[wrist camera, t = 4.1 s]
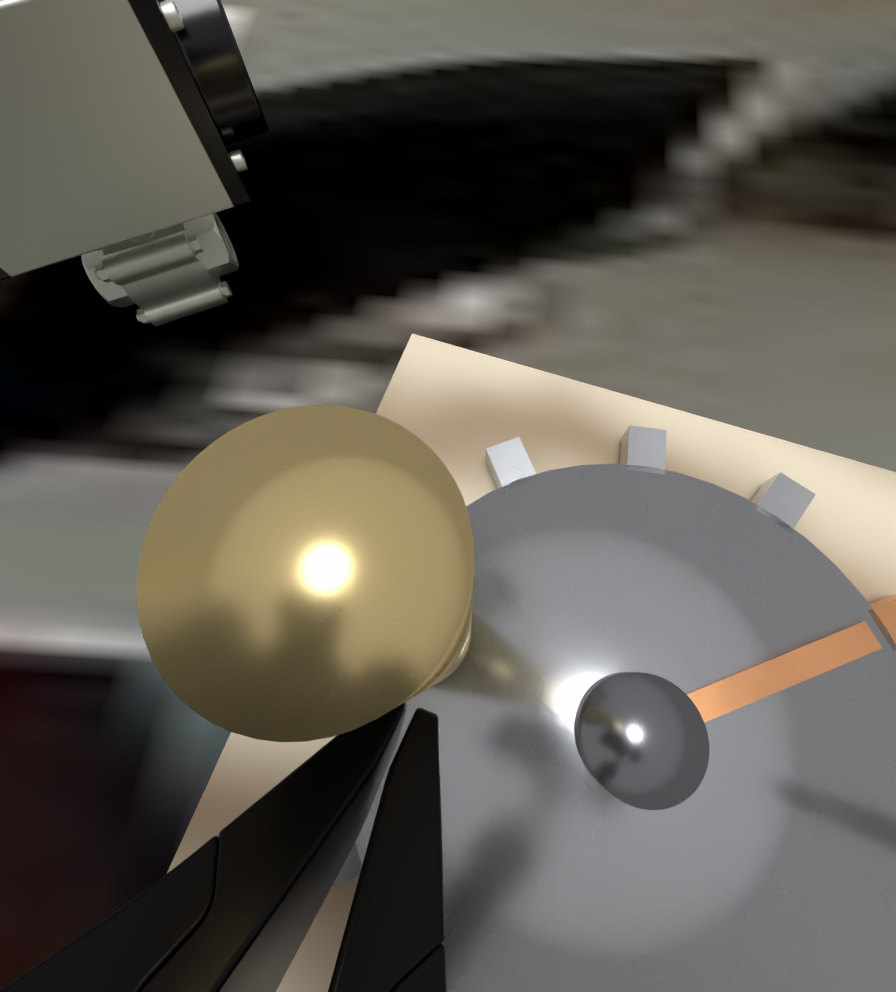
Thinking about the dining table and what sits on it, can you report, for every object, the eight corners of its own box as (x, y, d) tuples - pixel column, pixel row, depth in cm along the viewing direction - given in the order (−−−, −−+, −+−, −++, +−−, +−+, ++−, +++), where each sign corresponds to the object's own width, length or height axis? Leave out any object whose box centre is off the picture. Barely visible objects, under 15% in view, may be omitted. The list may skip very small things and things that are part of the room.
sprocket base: (976, 1422, 11) (1151, 1683, 8) (135, 972, 14) (52, 1049, 11) (1002, 520, 17) (1107, 491, 15) (414, 348, 21) (406, 298, 18)
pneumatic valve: (328, 286, 22) (174, -124, 10) (61, 375, 21) (-425, 31, 10) (294, 198, 24) (131, -236, 12) (47, 277, 23) (-379, -113, 11)
